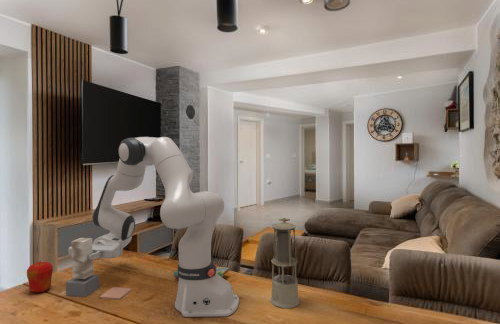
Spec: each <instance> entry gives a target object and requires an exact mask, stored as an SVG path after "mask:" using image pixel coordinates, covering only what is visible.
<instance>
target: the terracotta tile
mask: <svg viewBox="0 0 500 324" xmlns="http://www.w3.org/2000/svg"><path fill="white" fill-rule="evenodd" d="M132 290H133V289H132V288H128V287H127V288H126V287H117V286H115V287H114V286H113V287H111V288H110V289H109V290H107V291H106V292H104V293H103V294H101V295H100V296H99V299H104V300H105V299H106V300H119V301H120V300H122V299H123V298H124V297H125V296H127V295H128V294H129V293H131V292H132Z"/></svg>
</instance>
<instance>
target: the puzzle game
mask: <svg viewBox="0 0 500 324" xmlns="http://www.w3.org/2000/svg"><path fill="white" fill-rule="evenodd" d="M177 270H178V269H176V270H174V271H173V277H175V278H176V280H178V275H177ZM229 272H230V268H229V267H223V266H218V265H217V268H216V273H217V274H218V275H220V276H221V277H222V278H223V277H224V276H225V274H227V273H229Z"/></svg>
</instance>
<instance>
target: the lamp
mask: <svg viewBox="0 0 500 324" xmlns="http://www.w3.org/2000/svg"><path fill="white" fill-rule="evenodd" d="M278 221H281V222H279V223H274V224H272V225H271V228H272V229H273V235H274V236H273V237H274V239H273V258H272V259H271V260H270V261H271V263H272V268H271V297H270V303H271V304H272V305H273V306H275V307H276V308H277V307H278V308H281V309H291V308H296V307H297V306H299V304H300V302H301V301H300V298H299V287H298V286H299V284H298V283H299V280H298V278H297V264H298V263H299V262H298V260H297V243H296V242H297V241H296V233H295V232H296V225H295V223H290V222H289V221H290V218H286V217H282V218H278ZM292 232H293V239H294V241H293V242H294V244H293V245H294V257H293V256H292V248H291V247H292V246H291V234H292ZM274 265H275V266H277V267H278V275H275V274H274V273H275V266H274ZM287 267H291V268H292V269H291V271H292V273H291V274H292V275H291V274H290V275H289V274H285V273H284V272H285V271H284V270H285V268H287Z"/></svg>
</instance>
